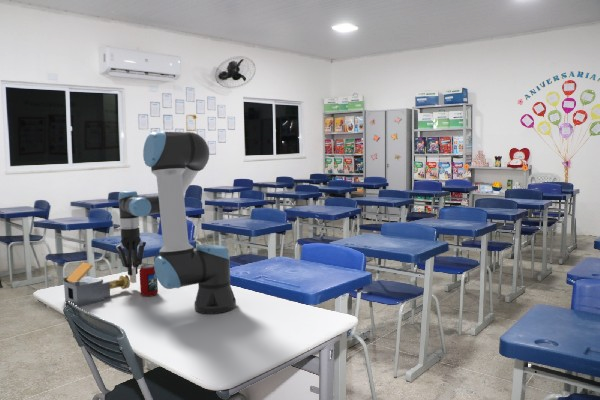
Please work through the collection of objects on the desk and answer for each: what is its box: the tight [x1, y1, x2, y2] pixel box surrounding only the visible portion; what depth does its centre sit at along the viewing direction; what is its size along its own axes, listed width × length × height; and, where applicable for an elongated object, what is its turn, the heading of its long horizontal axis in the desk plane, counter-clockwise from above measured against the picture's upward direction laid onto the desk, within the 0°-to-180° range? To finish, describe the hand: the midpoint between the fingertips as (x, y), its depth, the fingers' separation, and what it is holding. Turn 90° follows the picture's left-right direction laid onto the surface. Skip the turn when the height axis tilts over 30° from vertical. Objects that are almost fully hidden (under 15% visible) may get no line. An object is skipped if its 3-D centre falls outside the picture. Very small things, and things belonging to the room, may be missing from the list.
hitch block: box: [62, 275, 111, 307], centre depth 193 cm, size 12×14×10 cm
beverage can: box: [138, 263, 159, 297], centre depth 198 cm, size 7×7×12 cm
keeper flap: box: [66, 261, 94, 283], centre depth 190 cm, size 8×9×1 cm
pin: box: [108, 274, 131, 290], centre depth 199 cm, size 16×6×6 cm, turn 137°
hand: (133, 282), depth 207 cm, fingers closed
